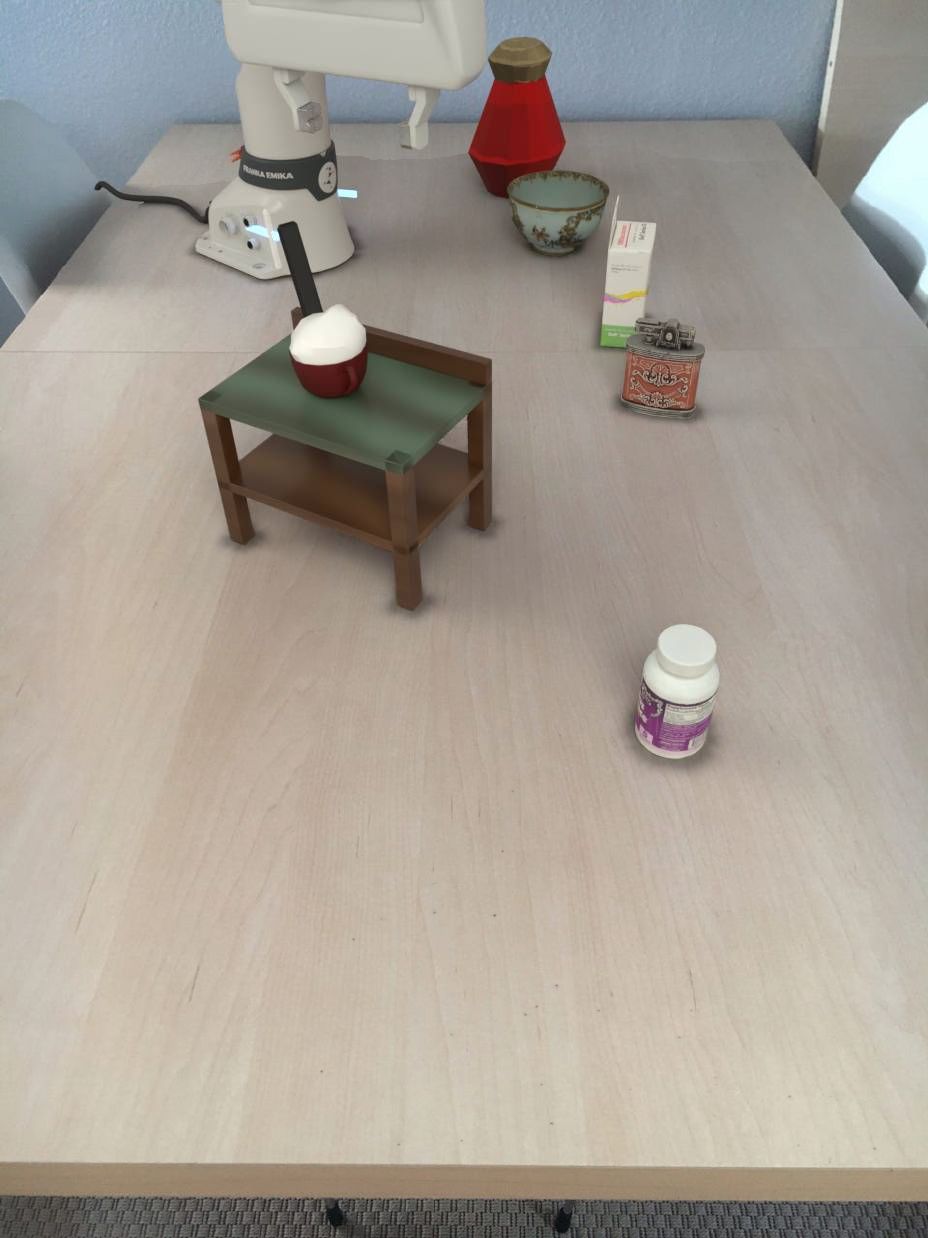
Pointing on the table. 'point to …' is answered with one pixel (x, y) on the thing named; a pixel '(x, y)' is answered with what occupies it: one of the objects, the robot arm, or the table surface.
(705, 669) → the pill bottle
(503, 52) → the bottle
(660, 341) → the lighter
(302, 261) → the cocoa
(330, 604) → the table surface
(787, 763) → the table surface
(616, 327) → the white medicine box
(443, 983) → the table surface
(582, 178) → the bowl
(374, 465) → the green top side table
